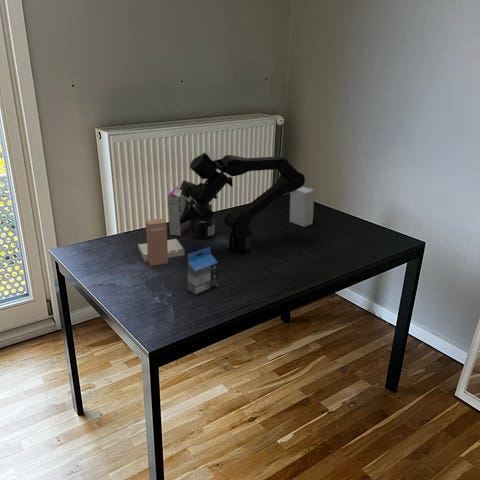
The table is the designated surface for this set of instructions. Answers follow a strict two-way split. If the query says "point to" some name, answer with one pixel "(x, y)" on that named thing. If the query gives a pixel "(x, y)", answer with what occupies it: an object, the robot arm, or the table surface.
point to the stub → (157, 241)
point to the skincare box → (302, 206)
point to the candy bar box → (176, 212)
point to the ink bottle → (202, 227)
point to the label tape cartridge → (202, 271)
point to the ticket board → (173, 249)
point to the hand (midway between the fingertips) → (180, 222)
